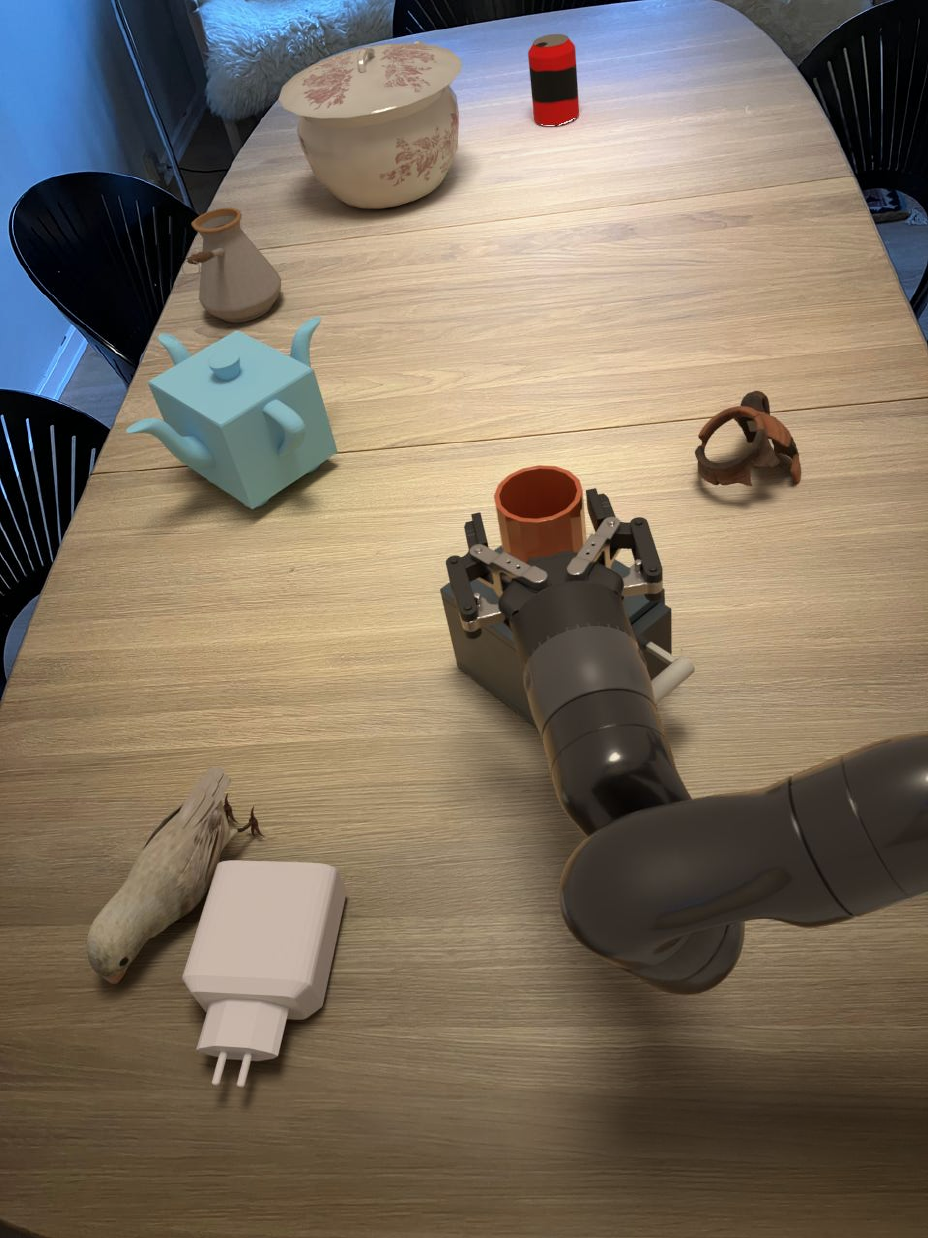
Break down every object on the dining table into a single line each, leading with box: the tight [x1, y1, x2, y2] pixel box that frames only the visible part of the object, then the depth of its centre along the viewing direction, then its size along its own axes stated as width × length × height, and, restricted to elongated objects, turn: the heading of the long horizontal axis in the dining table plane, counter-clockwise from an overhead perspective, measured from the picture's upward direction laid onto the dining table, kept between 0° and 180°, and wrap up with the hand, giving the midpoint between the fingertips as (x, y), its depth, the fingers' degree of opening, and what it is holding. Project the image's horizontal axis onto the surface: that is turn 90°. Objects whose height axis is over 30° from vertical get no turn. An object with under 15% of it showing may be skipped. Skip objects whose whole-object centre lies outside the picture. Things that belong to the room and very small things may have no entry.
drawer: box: [631, 602, 696, 706], centre depth 84 cm, size 17×11×8 cm, turn 41°
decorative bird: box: [85, 765, 266, 985], centre depth 76 cm, size 5×16×8 cm, turn 148°
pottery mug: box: [694, 390, 802, 487], centre depth 103 cm, size 12×10×8 cm
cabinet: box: [439, 544, 666, 730], centre depth 86 cm, size 14×12×10 cm
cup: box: [493, 464, 588, 563], centre depth 79 cm, size 6×6×10 cm
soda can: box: [527, 33, 580, 125], centre depth 169 cm, size 8×8×12 cm
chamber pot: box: [278, 40, 463, 209], centre depth 156 cm, size 28×28×21 cm
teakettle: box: [125, 316, 339, 510], centre depth 111 cm, size 19×19×15 cm
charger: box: [181, 859, 348, 1089], centre depth 71 cm, size 5×9×15 cm
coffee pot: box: [181, 207, 282, 323], centre depth 134 cm, size 21×12×15 cm, turn 179°
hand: (534, 509), depth 76 cm, fingers open, 8 cm apart
